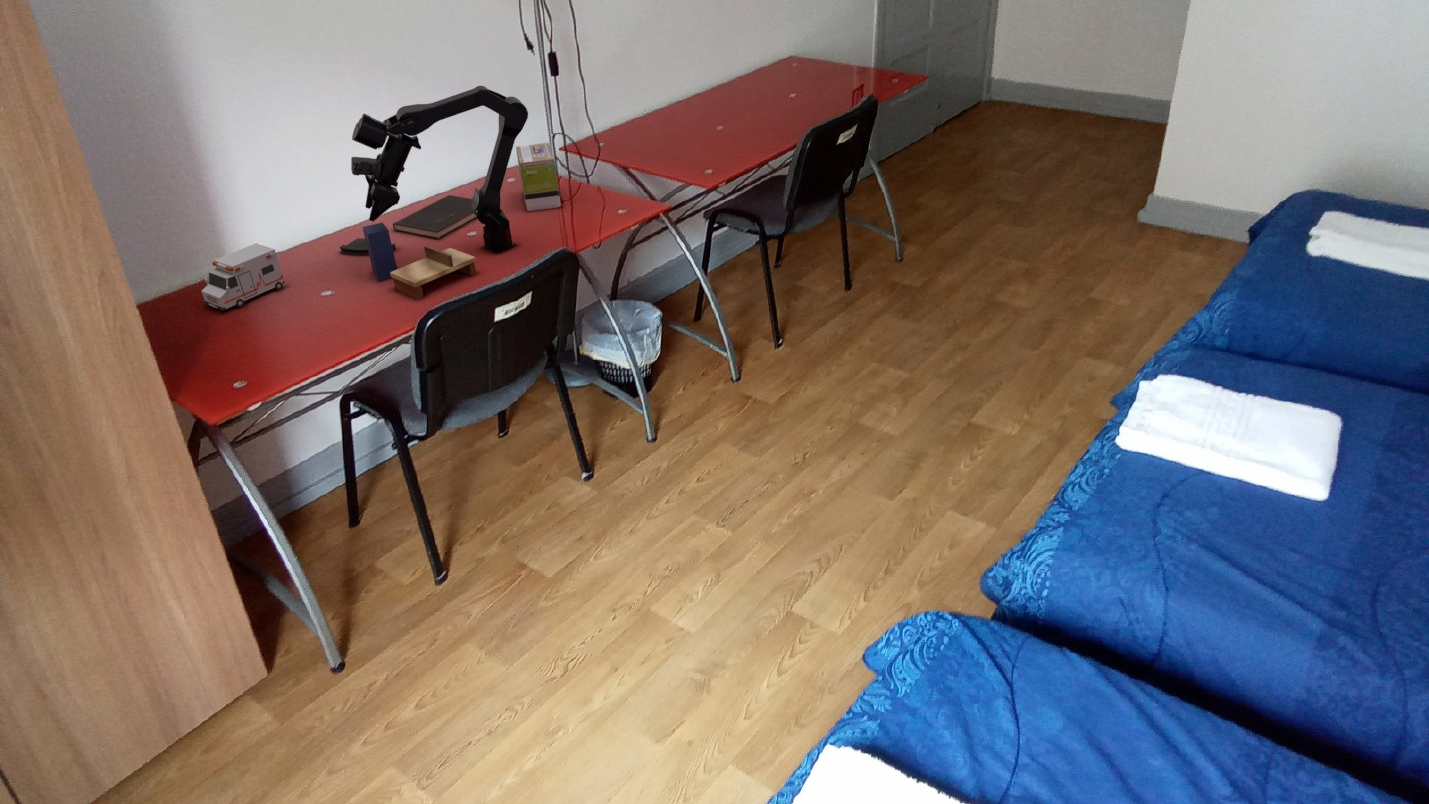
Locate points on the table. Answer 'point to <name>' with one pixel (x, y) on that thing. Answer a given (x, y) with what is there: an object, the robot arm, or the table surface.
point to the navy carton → (380, 250)
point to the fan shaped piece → (357, 247)
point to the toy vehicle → (242, 276)
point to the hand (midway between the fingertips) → (369, 214)
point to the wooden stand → (431, 269)
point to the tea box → (538, 176)
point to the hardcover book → (438, 218)
